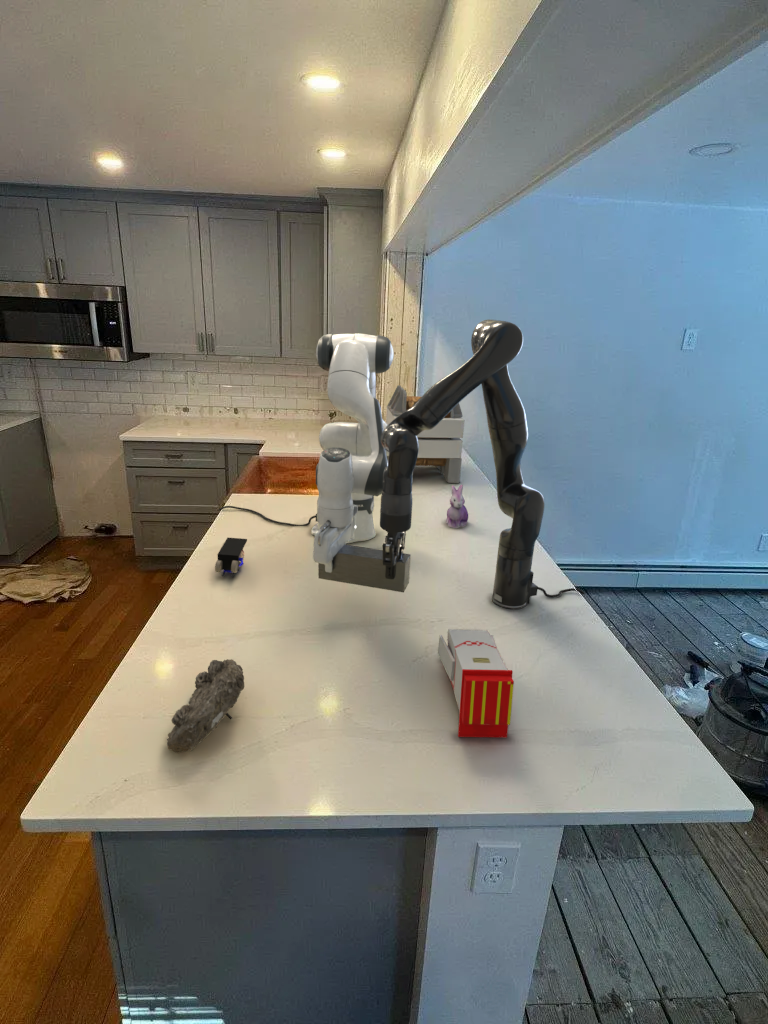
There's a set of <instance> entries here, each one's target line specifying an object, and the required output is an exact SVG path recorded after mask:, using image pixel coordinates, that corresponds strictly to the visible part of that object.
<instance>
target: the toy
mask: <svg viewBox="0 0 768 1024" xmlns="http://www.w3.org/2000/svg"><path fill="white" fill-rule="evenodd" d="M446 640H447V643H446V641H445V639H444V636H443V635H442V634H439V637H438V646H437V656H438V657H439V659H440V661H441V663H442V666H443V668H444V670H445V672H446V674H447V677H448V679H449V681H450V684H451V687H452V690H453V693H454V697H455V701H456V705H457V708H458V711H459V714H458V715H459V716H458V730H457V731H458V732H457V737H458V738H508V731H509V726H510V725H511V717H512V707H513V697H514V696H513V695H514V684H515V680H514V679H513V673H514V671H513V670H512V669H508V667H507V665H506V662H505V661H504V659H503V658H502V655H501V653H500V651H499V649H498V647H497V643H496V639H495V637H494V635H493V634H491V632H490V631H489V629H467V628H466V629H465V628H463V629H461V628H460V629H459V628H448V630H447V639H446Z"/></svg>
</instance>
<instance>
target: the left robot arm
mask: <svg viewBox="0 0 768 1024" xmlns="http://www.w3.org/2000/svg"><path fill="white" fill-rule="evenodd" d="M315 356H316V361H317V364H318V366H319V367H320V368H321V369H322V370H323V371H326V372H328V375H327V386H326V387H327V397H328V400H329V402H330V404H331V405H332V406H333V407H334V408H335V410H338V411H339V412H340V413H342V414H344V415H345V416H349V417H351V418H353V419H354V420H356V421H357V422H351V421H350V422H348V421H335V422H329V423H325V424H324V425H323V426H322V427H321V429H320V431H319V435H318V442H319V446H320V448H321V450H322V451H321V453H320V455H319V459H318V462H317V464H316V466H315V485H316V487H317V491H318V497H317V500H316V513H315V515H313V516H310V517H309V519H308V522H307V523H303V524H295V523H291V522H290V523H289V522H282V521H279V520H274V519H271V518H268V517H267V516H265V515H264V514H262V513H261V512H258V511H256V510H253V509H249V508H246V507H239V506H233V505H225V506H221V507H220V508H219V509H218V511H219V512H220V511H222V510H224V509H236V510H240V511H246V512H249V513H254V514H256V515H258V516H260V517H261V518H263V519H264V520H266V521H268V522H271V523H274V524H279V525H284V526H291V527H308V526H309V525H310V524H311V523H312V520H313V519H315V522H317V523H315V524H314V525H313V526H312V528H311V530H310V533H311V536H314V540H313V549H312V550H313V551H312V559H313V562H314V563H317V564H318V563H320V564H325V571H326V572H329V573H331V572H332V571H333V570H334V564H332V560H333V557H334V556H335V555H336V554H337V552H338V551H339V550H340V549H341V548H342V547H343V546H344V545H347V544H352V543H357V542H365V541H368V540H372V539H373V538H375V537H376V535H377V532H376V528H375V523H374V513H373V512H374V509H375V497H379V496H381V495H382V483H383V472H384V469H385V468H386V467H387V466H388V460H387V456H389V452H388V451H386V450H385V449H384V448H383V446H382V444H381V435H382V432H383V430H384V429H385V428H386V426H387V425H388V424H387V423H386V420H384V419H383V414H382V408H381V404H380V401H379V399H377V395H376V394H377V389H376V388H377V387H376V386H377V378H376V374H377V375H378V374H383V373H386V372H387V371H388V370H389V369H391V365H392V364H393V361H394V346H393V345H392V341H391V340H390V338H389V337H387V336H384V335H380V334H377V335H373V334H367V333H358V332H357V333H356V332H355V333H337V334H334V333H327V334H324V335H322V336H321V337H320V338H319V339H318V342H317V345H316V349H315Z"/></svg>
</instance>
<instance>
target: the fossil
mask: <svg viewBox="0 0 768 1024" xmlns="http://www.w3.org/2000/svg"><path fill="white" fill-rule="evenodd" d="M243 670H244V669H243V667H242V665H240V664H237V662H236V661H235V660H234V659H232V658H231V659H227V658H226V659H224V660H223V661H222V660H217V659H212V660H211V661H210V663H209V665H208V666H207V671H201V672H199V673H198V674H197V675H196V676H195V680H194V684H195V685H194V687H195V689H194V690H193V693H192V694H191V697H190V698H189V700H188V704H184V705H182V706H181V707H180V709H177V710H176V711H175V713H174V715H173V716H172V718H171V723H172V724H173V727H172V730H171V731H170V732H168V734H167V738H166V741H167V742H166V745H167V749H168V750H169V751H173V752H174V753H176V754H178V753H182V752H188V751H189V752H192V751H193V750H195V748H196V747H197V746H199V744H200V743H201V742H203V741H204V740H205V739H206V738H207V737H208V736H209V735H210V734H211V733H212V732H214V730H215V729H217V727H218V726H219V724H220V722H221V721H222V720H223V719H224V718H225V716H226V717H227V719H229V720H233V717H232V715H230V714H229V710H230V709H231V708H234V706H235V704H236V703H237V702H238V699H239V697H240V695H241V693H242V691H243V690H245V689H244V688H245V675H244V671H243Z"/></svg>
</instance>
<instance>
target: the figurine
mask: <svg viewBox="0 0 768 1024" xmlns="http://www.w3.org/2000/svg"><path fill="white" fill-rule="evenodd" d="M463 490H464V485H463V484H460V485H459V487H457V488H456V487H455V485H451V487H450V491H451V496H450V499H449V504H450V507H449V508H447V510H446V519H445V524H446V525H447V527H449V528H452V529H453V528H454V529H459V528H464V527H466V525H468V520H469V513H468V509H467V507H466V506H465V503H466V501H465V497H464V494H463Z"/></svg>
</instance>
